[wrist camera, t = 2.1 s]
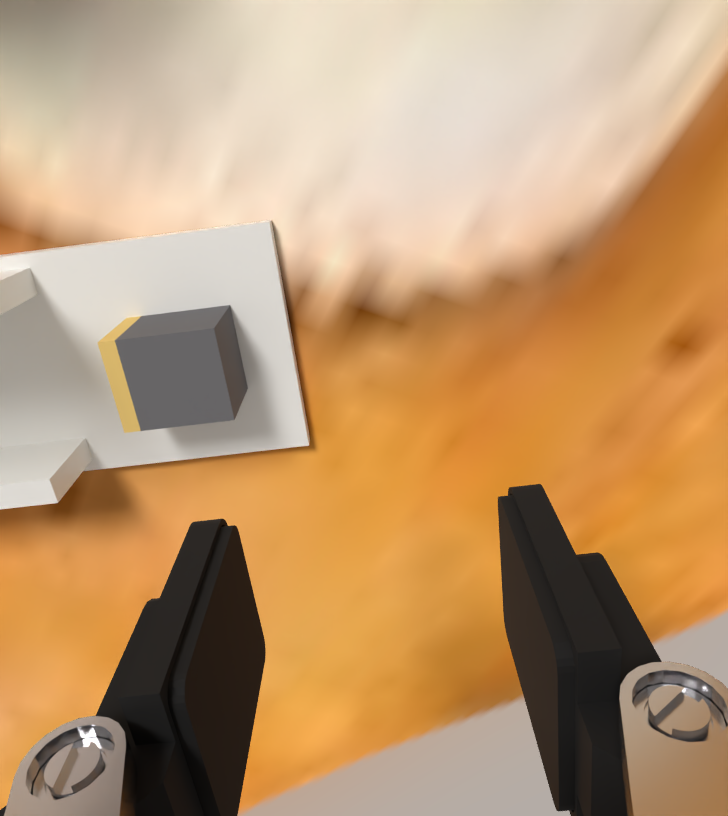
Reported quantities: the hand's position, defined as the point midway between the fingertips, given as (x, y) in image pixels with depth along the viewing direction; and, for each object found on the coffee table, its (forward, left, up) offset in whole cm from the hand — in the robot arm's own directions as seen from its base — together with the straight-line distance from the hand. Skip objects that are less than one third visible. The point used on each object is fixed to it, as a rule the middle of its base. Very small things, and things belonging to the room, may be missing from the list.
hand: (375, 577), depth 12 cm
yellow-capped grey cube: (+7, 0, -15) cm, 16 cm away
